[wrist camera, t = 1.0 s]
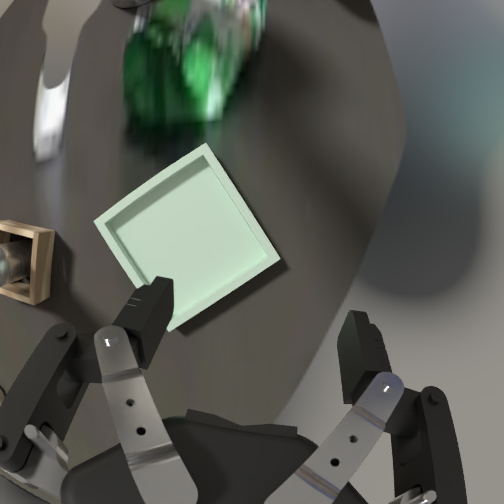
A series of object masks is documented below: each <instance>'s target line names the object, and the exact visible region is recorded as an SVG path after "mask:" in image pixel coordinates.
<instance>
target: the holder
mask: <svg viewBox="0 0 504 504" xmlns="http://www.w3.org/2000/svg"><path fill="white" fill-rule="evenodd" d="M10 233H14V234H18V235H22V236H26V237H30V238H33V245H32V257H31V272H30V285H28V284H25V283H22V282H19V281H15V282H12V283H10V284H7V285H4V286H2V287H0V293H1V294H4V295H6V296H9V297H12V298H14V299H17V300H20V301H23V302H25V303H28V304H31V305H34V306H35V305H36V304H38V303H40V302H42V301H43V300H45V299H47V298H49V297H50V282H51V267H52V256H53V246H54V237H55V231H54V230H49V229H45V228H41V227H36V226H32V225H28V224H23V223H19V222H15V221H11V220H0V244H4V243H10Z"/></svg>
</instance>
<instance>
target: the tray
mask: <svg viewBox="0 0 504 504" xmlns="http://www.w3.org/2000/svg"><path fill="white" fill-rule="evenodd" d="M94 223H95V224H96V226H97V228H98V229H99V231H100V233H101V234H102V236H103V237H104V239H105V241H106V242H107V244H108V245H109V247H110V249H111V250H112V252H113V253H114V255H115V256H116V258H117V260H118V261H119V263H120V264H121V266H122V267H123V269H124V270H125V272H126V273H127V275H128V276H129V278H130V279H131V280H132V282H133V283H134V285H135V286H136V288H137V289H138V288H139V287H141V286H142V285H144V284H146V285H151V283H152V282H153V280H154V279H155V277H156V276H161V277H166V278H171V279H173V281H174V312H173V316H172V318H171V320H170V323H169V325H168V327H167V330H168V331H169V332H170V331H171V330H173V329H174V328H176V327H178V326H179V325H181V324H182V323H184V322H185V321H187V320H189V319H190V318H192V317H193V316H195V315H196V314H198V313H199V312H201V311H202V310H204V309H206V308H207V307H209V306H210V305H212V304H213V303H215V302H216V301H218V300H219V299H221V298H222V297H224V296H225V295H227V294H229V293H230V292H232V291H233V290H235V289H236V288H238V287H239V286H241V285H242V284H244V283H245V282H247V281H248V280H250V279H251V278H253V277H254V276H256V275H257V274H259V273H260V272H262V271H263V270H265V269H266V268H268V267H269V266H271V265H272V264H274V263H275V262H277V261H278V260H280V257H279V256H278V254H277V252H276V251H275V249H274V248H273V246H272V244H271V243H270V241H269V240H268V238H267V236H266V235H265V233H264V232H263V230H262V229H261V227H260V225H259V224H258V222H257V221H256V219H255V218H254V216H253V214H252V213H251V211H250V210H249V208H248V207H247V205H246V203H245V202H244V200H243V199H242V197H241V196H240V194H239V193H238V191H237V190H236V188H235V186H234V185H233V183H232V182H231V180H230V179H229V177H228V176H227V174H226V173H225V171H224V169H223V168H222V166H221V165H220V163H219V162H218V160H217V159H216V157H215V156H214V154H213V153H212V151H211V150H210V148H209V147H208V145H207V144H206V143H205V144H203V145H202V146H200V147H199V148H197V149H195V150H194V151H192V152H191V153H189V154H187V155H186V156H184V157H183V158H181V159H180V160H178V161H177V162H175V163H173V164H172V165H170V166H169V167H167V168H166V169H164V170H163V171H161V172H160V173H159V174H157V175H156V176H154V177H153V178H151V179H150V180H148V181H147V182H146V183H144V184H143V185H141V186H140V187H138V188H137V189H136V190H134V191H133V192H132V193H130V194H129V195H127V196H126V197H125V198H123V199H122V200H121V201H119V202H118V203H117V204H115V205H114V206H113V207H111V208H110V209H109V210H108V211H106V212H105V213H104V214H102V215H101V216H100V217H99V218H97V219H96V220H95V221H94Z"/></svg>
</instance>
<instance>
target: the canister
mask: <svg viewBox="0 0 504 504" xmlns="http://www.w3.org/2000/svg"><path fill="white" fill-rule="evenodd" d="M32 245H33V242H32V241H30V240H22V241H16V242H10V243H4V244H0V287H2V286H4V285H7V284H10V283H12V282H15V281H17V280H20V279H22V278H25V277H28V276H30V272H31V257H32Z"/></svg>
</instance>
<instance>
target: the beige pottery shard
mask: <svg viewBox="0 0 504 504" xmlns="http://www.w3.org/2000/svg"><path fill="white" fill-rule="evenodd" d="M4 398H5V396H4V394H3V391H2V390H1V389H0V405H1V404H2V402H3V400H4Z"/></svg>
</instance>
